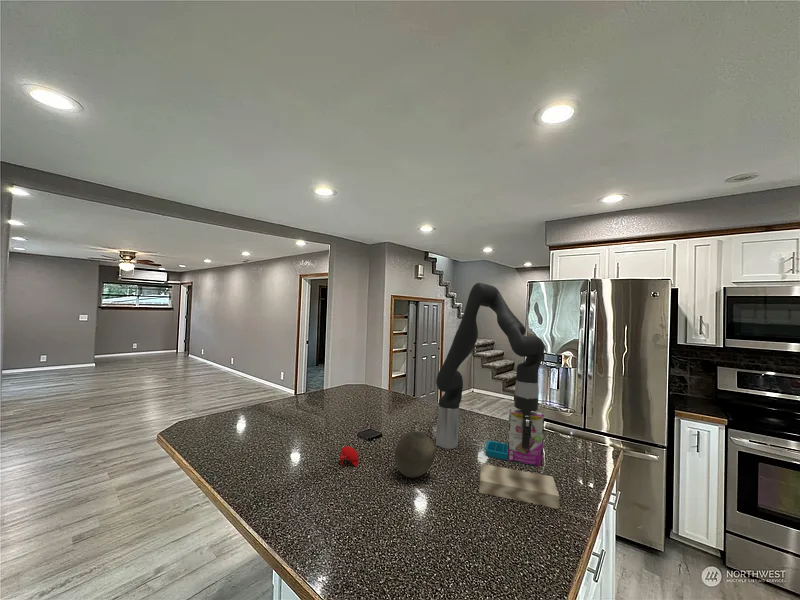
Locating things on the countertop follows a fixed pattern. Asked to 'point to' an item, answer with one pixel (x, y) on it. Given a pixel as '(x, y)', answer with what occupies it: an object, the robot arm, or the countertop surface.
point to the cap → (349, 455)
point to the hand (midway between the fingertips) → (524, 445)
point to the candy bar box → (535, 442)
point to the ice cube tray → (497, 450)
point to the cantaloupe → (414, 454)
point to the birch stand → (519, 486)
